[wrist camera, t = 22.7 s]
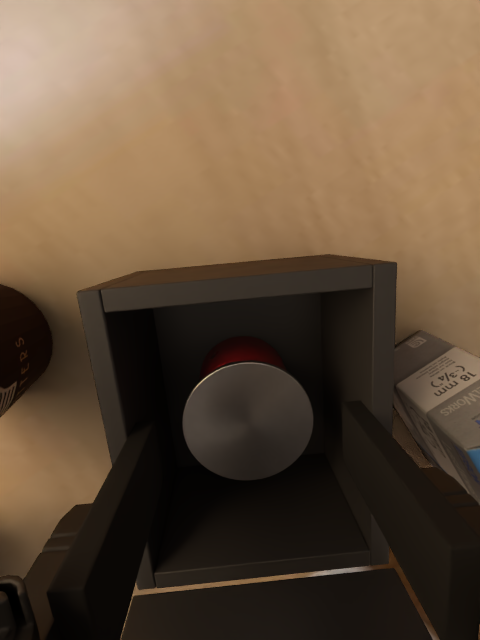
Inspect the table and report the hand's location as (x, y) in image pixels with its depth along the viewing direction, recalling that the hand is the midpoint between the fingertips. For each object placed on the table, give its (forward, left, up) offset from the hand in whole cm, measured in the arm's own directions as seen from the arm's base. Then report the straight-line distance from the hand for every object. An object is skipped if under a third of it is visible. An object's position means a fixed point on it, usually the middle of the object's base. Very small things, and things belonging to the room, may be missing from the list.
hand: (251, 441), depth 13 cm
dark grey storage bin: (0, 0, -6) cm, 6 cm away
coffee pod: (0, 0, -5) cm, 5 cm away
